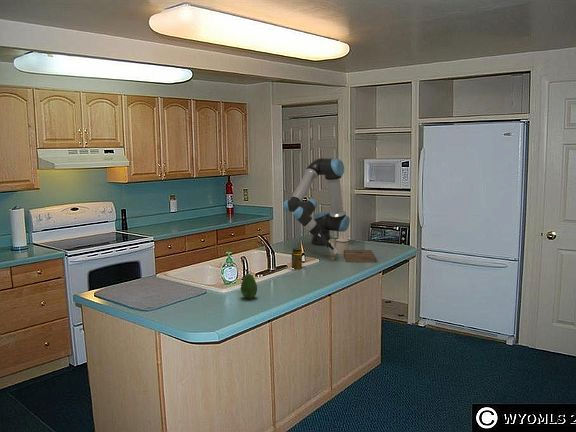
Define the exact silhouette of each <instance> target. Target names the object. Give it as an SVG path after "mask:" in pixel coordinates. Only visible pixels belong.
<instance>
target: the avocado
mask: <svg viewBox="0 0 576 432" xmlns="http://www.w3.org/2000/svg"><path fill="white" fill-rule="evenodd" d="M240 293H241V295H242V296H243V297H244V298H246V299H253V298H254V297H255V298H256V295H257V293H258V284H257V282H256V280H255V278H254V275H253V274H251V273H247V274H245V275H244V276H243V278H242V281H241V284H240Z"/></svg>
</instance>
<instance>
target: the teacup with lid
mask: <svg viewBox="0 0 576 432" xmlns="http://www.w3.org/2000/svg"><path fill="white" fill-rule="evenodd" d="M335 239H336V240H335V246H336V249H337V250H338V252H337V253H336V255H344V250H350V249H349V248H350V247H349V246H350V239H348V238H346V237H345V236H344V235H341V236H340V237H339V238H335Z"/></svg>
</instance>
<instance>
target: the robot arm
mask: <svg viewBox="0 0 576 432" xmlns="http://www.w3.org/2000/svg"><path fill="white" fill-rule="evenodd" d="M344 174H345V165H344V162H343V161H342V160H341V159H339V158H328V157H326V158H325V157H324V158H323V157H321V158H317V159H315V160H313V161H312V162H310V163H309V164H308V165H307V167H306V169H305V170H304V174H303V177H302V178H301V180H300V182H299V184H298V185H297V186H296V189H295V190H294V192H293V194H292V196H291V197H290V199H286V200H284V201H283V205H282V208H283V210H284V211H285V212H290V213H292V216H293V217H294V219H296V220H297V221H298V223H300V224H301V225H302V226H303V227H304V229H305V230H307V231H309V232H308V233H310V234H311V236H312V237H311V239H310V240H311V241H310V243H311V244H312V245H314V246H326V248H327V249H329V251H330V250H331V251H332V252H333V253H334V254H335V255H337V252H338V250H337V249H336V245H335V247H334V246H333V245H332V244H330V239H332V237H331V234H330V231H333V232H339V233H340V232H346V231H347V230H348V228H349V227H350V222H351V221H350V217H349V216H348V215H347V214H346V211H345V210H344V207H343V196H342V188H341V187H342V186H341V179H342V176H343V175H344ZM319 176H324V179H325V180H326V181H327V188H328V195H329V203H330V204H329V205H330V211H323V212H321V211H320V212H317V213H314V215H313V218H312V216H311V215H312V214H313V212H315V210H316V209H317V207H318V203H317V201H316V200H315V199H313V198H309V199H307V200H306V201H303V200H304V198H305V196H306V195H307V193H308V191H309V190H310V187H312V184H313V183H314V181H315V180H316V179H317V178H318V177H319Z"/></svg>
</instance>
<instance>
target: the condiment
mask: <svg viewBox="0 0 576 432" xmlns="http://www.w3.org/2000/svg"><path fill="white" fill-rule="evenodd" d="M302 265H303V253H302V248H300V247H293V248H292V253H291V267H292V268H294V269H295V270H291V271H299V270H305V268H303V267H302Z"/></svg>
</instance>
